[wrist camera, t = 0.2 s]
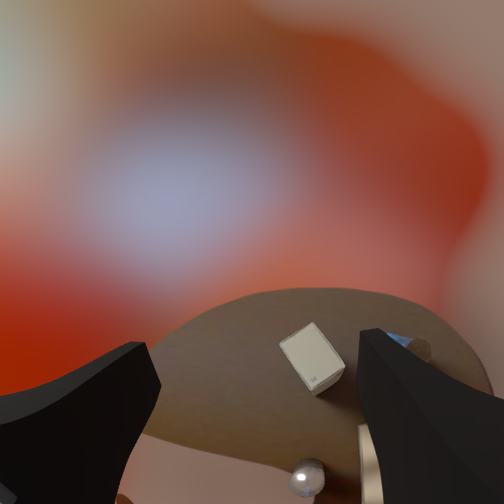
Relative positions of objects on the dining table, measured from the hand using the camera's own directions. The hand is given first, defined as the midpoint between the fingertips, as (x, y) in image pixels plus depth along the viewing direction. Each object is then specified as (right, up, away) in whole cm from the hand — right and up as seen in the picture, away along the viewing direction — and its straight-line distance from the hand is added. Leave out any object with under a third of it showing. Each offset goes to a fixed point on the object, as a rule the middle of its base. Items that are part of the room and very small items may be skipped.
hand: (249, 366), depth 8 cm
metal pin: (+8, -26, +19) cm, 33 cm away
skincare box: (+9, -13, +27) cm, 32 cm away
